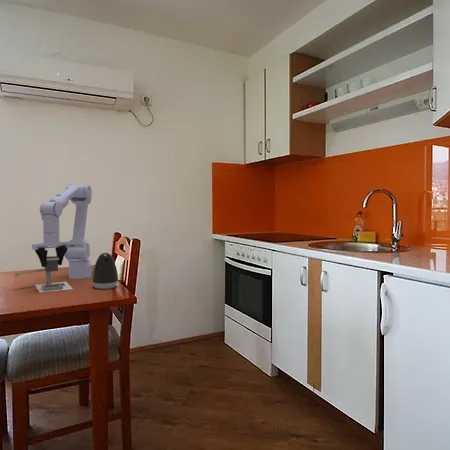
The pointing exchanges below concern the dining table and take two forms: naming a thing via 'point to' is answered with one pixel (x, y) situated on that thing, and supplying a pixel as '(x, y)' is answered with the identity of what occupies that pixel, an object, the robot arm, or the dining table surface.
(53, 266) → the plug
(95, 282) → the black rounded cone
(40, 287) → the lever mounting base
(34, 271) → the lever handle
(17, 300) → the dining table surface
